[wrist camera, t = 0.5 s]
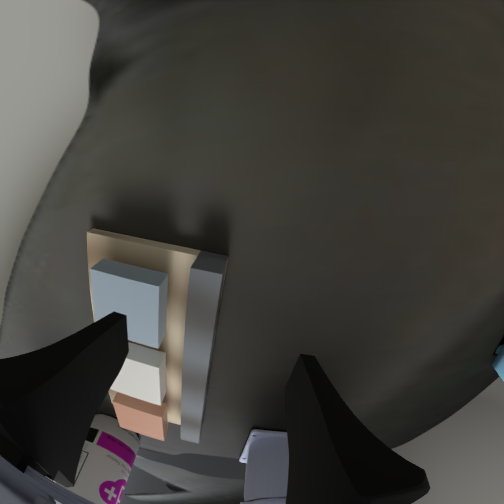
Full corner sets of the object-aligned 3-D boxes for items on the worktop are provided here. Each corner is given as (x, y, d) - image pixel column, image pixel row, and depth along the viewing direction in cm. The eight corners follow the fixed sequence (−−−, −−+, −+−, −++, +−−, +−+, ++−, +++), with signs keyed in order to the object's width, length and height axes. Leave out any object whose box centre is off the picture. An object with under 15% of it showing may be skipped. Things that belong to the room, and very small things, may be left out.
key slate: (165, 333, 19) (158, 348, 17) (107, 316, 19) (96, 329, 17) (168, 273, 17) (159, 286, 16) (103, 258, 17) (90, 268, 16)
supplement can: (136, 422, 28) (101, 514, 14) (145, 449, 31) (120, 526, 17) (84, 404, 28) (41, 483, 14) (99, 432, 31) (67, 503, 17)
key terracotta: (168, 428, 24) (164, 441, 22) (125, 414, 24) (120, 426, 22) (166, 403, 22) (161, 417, 21) (119, 388, 22) (112, 401, 21)
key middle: (166, 391, 22) (160, 405, 20) (116, 375, 21) (108, 388, 20) (165, 352, 20) (158, 368, 18) (109, 336, 20) (100, 349, 18)
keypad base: (203, 423, 27) (198, 443, 24) (114, 397, 27) (105, 415, 24) (228, 256, 19) (222, 274, 17) (93, 228, 19) (71, 240, 16)
